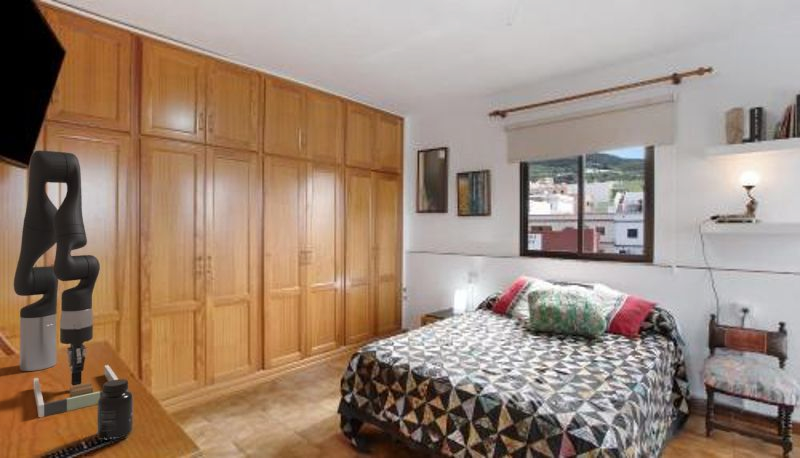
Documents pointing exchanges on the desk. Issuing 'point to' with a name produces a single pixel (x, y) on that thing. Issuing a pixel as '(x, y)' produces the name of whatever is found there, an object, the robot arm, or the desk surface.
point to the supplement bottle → (115, 410)
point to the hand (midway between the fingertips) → (76, 384)
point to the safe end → (82, 401)
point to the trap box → (61, 405)
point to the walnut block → (81, 389)
